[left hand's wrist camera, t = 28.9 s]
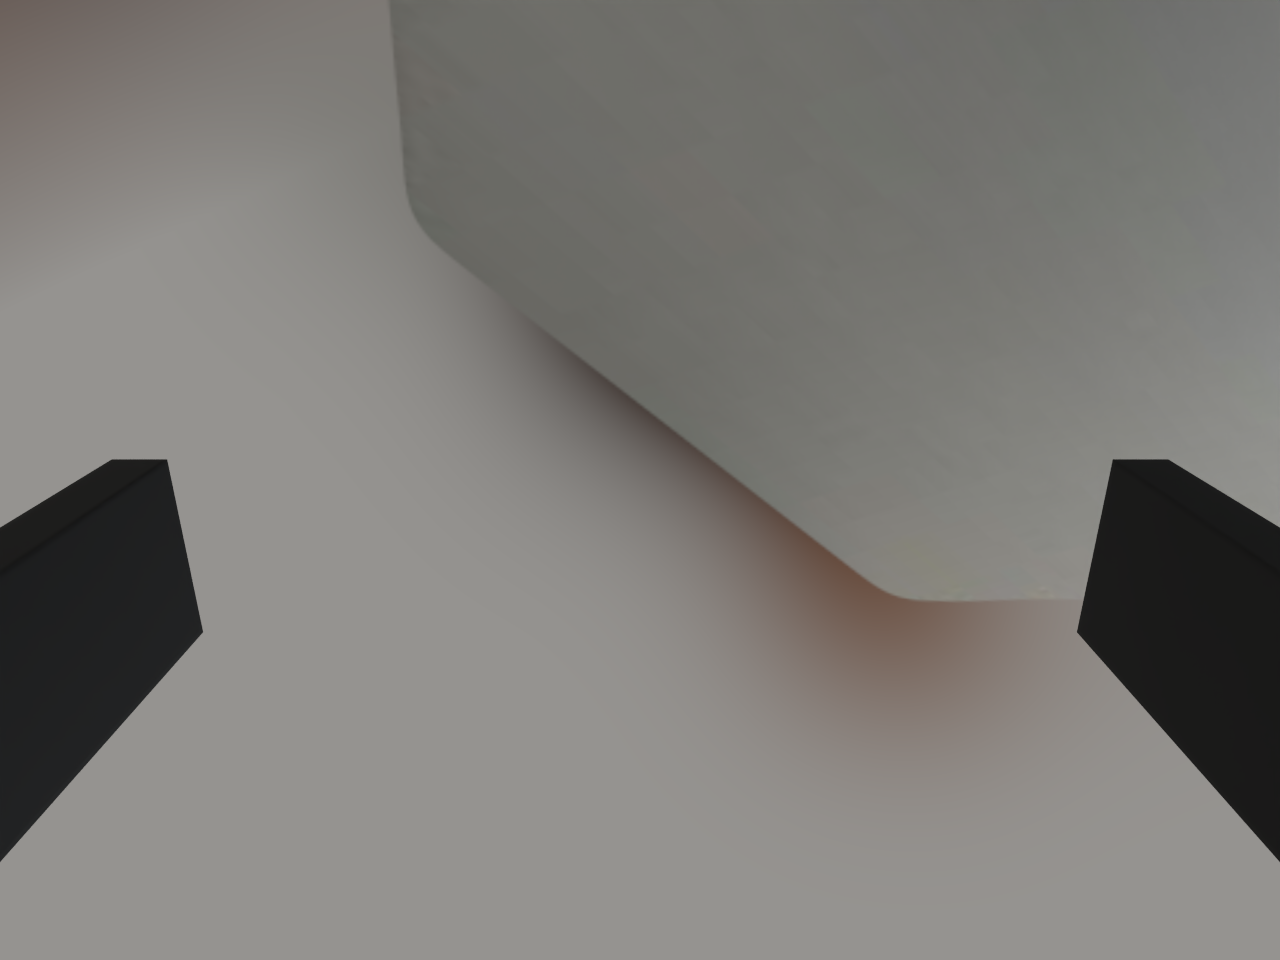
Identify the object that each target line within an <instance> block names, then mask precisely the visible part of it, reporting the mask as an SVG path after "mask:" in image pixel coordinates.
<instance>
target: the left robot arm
mask: <svg viewBox="0 0 1280 960" xmlns="http://www.w3.org/2000/svg"><path fill="white" fill-rule="evenodd" d="M202 633H203V630H202V625H201V620H200V615H199V611H198V606H197V601H196V596H195V591H194V587H193V582H192V577H191V572H190V567H189V563H188V558H187V553H186V548H185V544H184V539H183V534H182V529H181V524H180V519H179V515H178V510H177V505H176V500H175V496H174V491H173V486H172V481H171V476H170V472H169V467H168V462H167V460H110V461H109V462H107V463H105V464H104V465H102V466H101V467H99V468H97V469H96V470H94V471H92V472H91V473H89V474H87V475H86V476H84V477H83V478H81V479H79V480H77V481H76V482H74V483H73V484H71V485H69V486H68V487H66V488H64V489H63V490H61V491H59V492H58V493H56V494H55V495H53V496H51V497H50V498H48V499H46V500H45V501H43V502H41V503H40V504H38V505H37V506H35V507H33V508H32V509H30V510H28V511H27V512H25V513H23V514H22V515H20V516H19V517H17V518H15V519H14V520H12V521H10V522H9V523H7V524H5V525H4V526H2V527H0V861H1V860H2V859H3V858H4V857H5V856H6V855H7V853H8V852H9V851H10V850H11V849H12V848H13V847H14V846H15V844H16V843H17V842H18V841H19V840H20V839H21V838H22V837H23V835H24V834H25V833H26V832H27V831H28V830H29V829H30V827H31V826H32V825H33V824H34V823H35V822H36V821H37V819H38V818H39V817H40V816H41V815H42V814H43V813H44V812H45V810H46V809H47V808H48V807H49V806H50V805H51V804H52V803H53V801H54V800H55V799H56V798H57V797H58V796H59V795H60V793H61V792H62V791H63V790H64V789H65V788H66V787H67V786H68V784H69V783H70V782H71V781H72V780H73V779H74V778H75V776H76V775H77V774H78V773H79V772H80V771H81V770H82V769H83V767H84V766H85V765H86V764H87V763H88V762H89V761H90V759H91V758H92V757H93V756H94V755H95V754H96V753H97V752H98V750H99V749H100V748H101V747H102V746H103V745H104V744H105V743H106V741H107V740H108V739H109V738H110V737H111V736H112V735H113V733H114V732H115V731H116V730H117V729H118V728H119V727H120V726H121V724H122V723H123V722H124V721H125V720H126V719H127V718H128V716H129V715H130V714H131V713H132V712H133V711H134V710H135V709H136V707H137V706H138V705H139V704H140V703H141V702H142V701H143V699H144V698H145V697H146V696H147V695H148V694H149V693H150V692H151V690H152V689H153V688H154V687H155V686H156V685H157V684H158V682H159V681H160V680H161V679H162V678H163V677H164V676H165V675H166V673H167V672H168V671H169V670H170V669H171V668H172V667H173V666H174V664H175V663H176V662H177V661H178V660H179V659H180V658H181V656H182V655H183V654H184V653H185V652H186V651H187V650H188V649H189V647H190V646H191V645H192V644H193V643H194V642H195V641H196V639H197V638H198V637H199V636H200V635H201V634H202ZM1077 633H1078V634H1079V635H1080V636H1081V637H1082V638H1083V639H1084V641H1085V642H1086V643H1087V644H1088V645H1089V646H1090V647H1091V649H1092V650H1093V651H1094V652H1095V653H1096V654H1097V655H1098V656H1099V658H1100V659H1101V660H1102V661H1103V662H1104V663H1105V664H1106V666H1107V667H1108V668H1109V669H1110V670H1111V671H1112V672H1113V673H1114V675H1115V676H1116V677H1117V678H1118V679H1119V680H1120V681H1121V682H1122V684H1123V685H1124V686H1125V687H1126V688H1127V689H1128V690H1129V692H1130V693H1131V694H1132V695H1133V696H1134V697H1135V698H1136V699H1137V701H1138V702H1139V703H1140V704H1141V705H1142V706H1143V707H1144V709H1145V710H1146V711H1147V712H1148V713H1149V714H1150V715H1151V716H1152V718H1153V719H1154V720H1155V721H1156V722H1157V723H1158V724H1159V726H1160V727H1161V728H1162V729H1163V730H1164V731H1165V732H1166V733H1167V735H1168V736H1169V737H1170V738H1171V739H1172V740H1173V741H1174V742H1175V744H1176V745H1177V746H1178V747H1179V748H1180V749H1181V750H1182V752H1183V753H1184V754H1185V755H1186V756H1187V757H1188V758H1189V759H1190V761H1191V762H1192V763H1193V764H1194V765H1195V766H1196V767H1197V769H1198V770H1199V771H1200V772H1201V773H1202V774H1203V775H1204V776H1205V778H1206V779H1207V780H1208V781H1209V782H1210V783H1211V784H1212V786H1213V787H1214V788H1215V789H1216V790H1217V791H1218V792H1219V793H1220V795H1221V796H1222V797H1223V798H1224V799H1225V800H1226V801H1227V803H1228V804H1229V805H1230V806H1231V807H1232V808H1233V809H1234V810H1235V812H1236V813H1237V814H1238V815H1239V816H1240V817H1241V818H1242V820H1243V821H1244V822H1245V823H1246V824H1247V825H1248V826H1249V827H1250V829H1251V830H1252V831H1253V832H1254V833H1255V834H1256V835H1257V837H1258V838H1259V839H1260V840H1261V841H1262V842H1263V843H1264V844H1265V846H1266V847H1267V848H1268V849H1269V850H1270V851H1271V852H1272V853H1273V855H1274V856H1275V857H1276V858H1277V859H1278V860H1279V861H1280V527H1278V526H1276V525H1275V524H1273V523H1271V522H1270V521H1268V520H1266V519H1265V518H1263V517H1262V516H1260V515H1258V514H1257V513H1255V512H1253V511H1252V510H1250V509H1248V508H1247V507H1245V506H1243V505H1242V504H1240V503H1239V502H1237V501H1235V500H1234V499H1232V498H1230V497H1229V496H1227V495H1225V494H1224V493H1222V492H1221V491H1219V490H1217V489H1216V488H1214V487H1212V486H1211V485H1209V484H1207V483H1206V482H1204V481H1203V480H1201V479H1199V478H1198V477H1196V476H1194V475H1193V474H1191V473H1189V472H1188V471H1186V470H1184V469H1183V468H1181V467H1180V466H1178V465H1176V464H1175V463H1173V462H1171V461H1170V460H1113V462H1112V467H1111V471H1110V476H1109V481H1108V486H1107V491H1106V495H1105V500H1104V505H1103V510H1102V515H1101V519H1100V524H1099V529H1098V534H1097V539H1096V543H1095V548H1094V553H1093V558H1092V563H1091V567H1090V572H1089V577H1088V582H1087V587H1086V591H1085V596H1084V601H1083V606H1082V611H1081V615H1080V620H1079V625H1078V630H1077Z"/></svg>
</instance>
